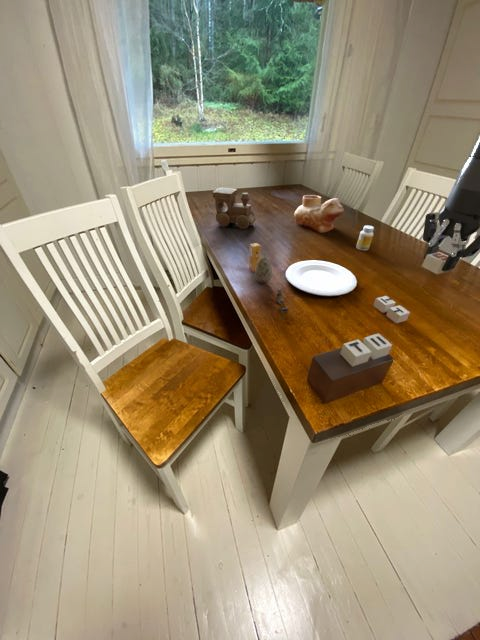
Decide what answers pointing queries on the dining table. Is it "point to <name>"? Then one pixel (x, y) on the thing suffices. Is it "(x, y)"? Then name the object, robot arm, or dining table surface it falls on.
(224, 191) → the wooden toy train
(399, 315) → the letter cube pair
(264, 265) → the decorative egg
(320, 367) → the tile rack
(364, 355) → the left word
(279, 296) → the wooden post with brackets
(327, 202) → the ceramic vessel
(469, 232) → the robot arm
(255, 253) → the supplement box
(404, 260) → the dining table surface
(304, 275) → the plate
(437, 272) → the tile
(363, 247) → the supplement bottle
